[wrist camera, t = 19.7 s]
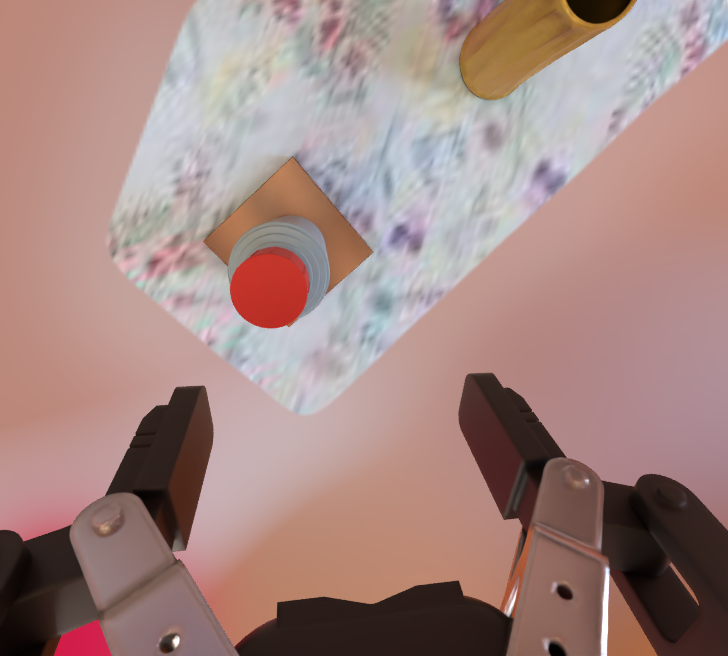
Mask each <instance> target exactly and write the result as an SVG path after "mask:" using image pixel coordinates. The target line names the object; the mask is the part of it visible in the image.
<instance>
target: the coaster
mask: <svg viewBox="0 0 728 656" xmlns="http://www.w3.org/2000/svg"><path fill="white" fill-rule="evenodd" d="M288 215H295V216H300V217H304V218H306V219H308V220H310V221H311V222H312V223H314V224H315V225H316V226H317V227H318V229H319V230H320V232H321V233H322V235H323V238H324V241H325V245H326V251H327V256H328V262H329V268H330V279H329V285H328V289H327V291H326V294H327V293H328V292H329V291H330V290H331V289H333V288H334V287H335V286H336V285H337V284H338V283H339V282H341V281H342V280H343V279H344V278H345V277H346V276H347V275H348V274H350V273H351V272H352V271H353V270H354V269H355V268H356V267H357V266H359V265H360V264H361V263H362V262H363V261H364V260H365V259H366V258H368V257H369V256H370V255H371V254H372V253H373V251H372V250H371V249H370V247H369V246H368V245H367V244H366V243H365V242H364V240H363V239H362V238H361V237H360V236H359V234H358V233H357V232H356V231H355V230H354V229H353V227H352V226H351V225H350V224H349V223H348V221H347V220H346V219H345V218H344V217H343V216H342V214H341V213H340V212H339V211H338V210H337V208H336V207H335V206H334V205H333V204H332V203H331V201H330V200H329V199H328V198H327V197H326V195H325V194H324V193H323V192H322V191H321V190H320V188H319V187H318V186H317V185H316V184H315V182H314V181H313V180H312V179H311V178H310V177H309V175H308V174H307V173H306V172H305V171H304V169H303V168H302V167H301V166H300V165H299V164H298V162H297V161H296V160H295V159H294V158H293V157H292V158H291V159H289V160H288V161H287V162H286V163H285V164H284V165H283V166H282V167H281V168H280V169H279V170H278V171H277V172H276V173H275V174H274V175H273V176H272V177H271V178H269V179H268V180H267V181H266V182H265V183H264V184H263V185H262V186H261V187H260V188H259V189H258V190H257V191H256V192H255V193H254V194H253V195H252V196H251V197H249V198H248V199H247V200H246V201H245V202H244V203H243V204H242V205H241V206H240V207H239V208H238V209H237V210H236V211H235V212H234V213H233V214H232V215H230V216H229V217H228V218H227V219H226V220H225V221H224V222H223V223H222V224H221V225H220V226H219V227H218V228H217V229H216V230H215V231H214V232H213V233H212V234H210V235H209V236H208V237H207V238H206V239H205V240H204V241H203V242H204V243H205V244H206V245H207V246H208V247H209V248H210V249H211V250H212V251H213V252H214V253H215V254H216V255H217V256H218V257H219V258H220V259H221V260H222V261H223V262H224V263H225V264H226V265H227V266H228V263H229V257H230V254H231V251H232V249H233V247H234V245H235V244H236V242H237V241H238V239H239V238H240V237H241V236H242V235H243V234H244V233H246V232H247V231H248V230H250V229H251V228H253V227H255V226H258V225H260V224H263V223H265V222H268V221H271V220H274V219H277V218H280V217H283V216H288ZM326 294H325V295H326ZM298 319H299V318H298ZM298 319H295V320H294V321H293V322H291V323H289V324H288V325H287V326H288V327H290V326H291V325H292V324H293V323H294V322H295V321H296V320H298Z"/></svg>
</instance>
